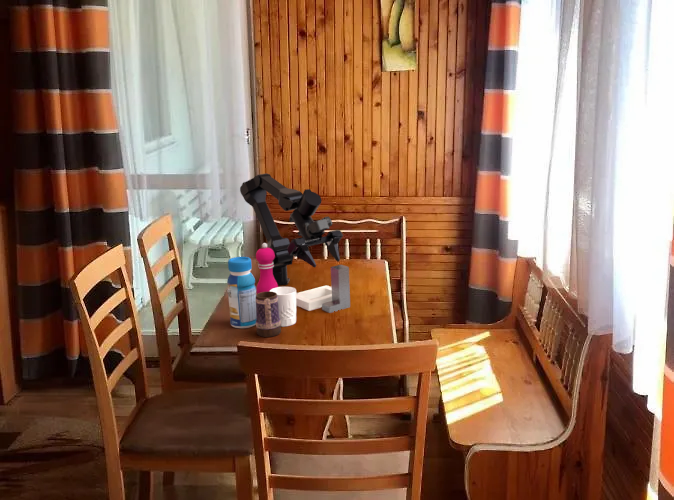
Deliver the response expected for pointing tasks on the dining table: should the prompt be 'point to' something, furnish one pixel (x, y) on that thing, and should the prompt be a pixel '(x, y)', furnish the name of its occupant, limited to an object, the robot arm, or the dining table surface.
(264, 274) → the pepper mill
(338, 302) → the grey block
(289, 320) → the white cup
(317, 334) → the dining table surface
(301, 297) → the block
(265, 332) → the mug
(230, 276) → the beverage bottle
